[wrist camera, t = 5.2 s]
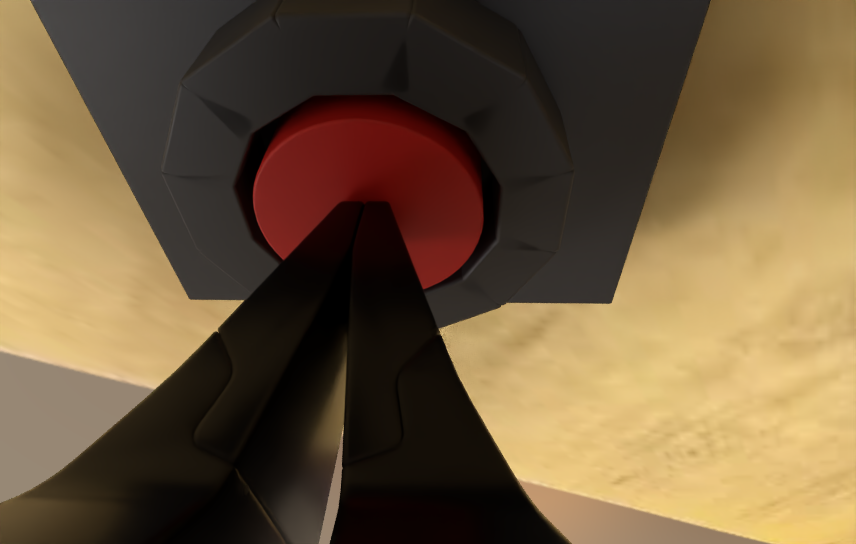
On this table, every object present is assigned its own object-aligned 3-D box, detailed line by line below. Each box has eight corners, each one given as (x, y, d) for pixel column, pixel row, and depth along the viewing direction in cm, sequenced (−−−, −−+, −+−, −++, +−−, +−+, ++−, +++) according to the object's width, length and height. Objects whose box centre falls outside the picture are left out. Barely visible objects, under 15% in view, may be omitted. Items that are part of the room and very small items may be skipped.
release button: (485, 63, 9) (489, 118, 8) (477, 238, 12) (479, 298, 11) (251, 66, 9) (220, 120, 8) (298, 237, 12) (280, 296, 11)
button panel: (703, -157, 9) (815, -93, 6) (596, 245, 15) (626, 364, 13) (50, -137, 9) (-119, -68, 7) (214, 242, 16) (163, 357, 13)
